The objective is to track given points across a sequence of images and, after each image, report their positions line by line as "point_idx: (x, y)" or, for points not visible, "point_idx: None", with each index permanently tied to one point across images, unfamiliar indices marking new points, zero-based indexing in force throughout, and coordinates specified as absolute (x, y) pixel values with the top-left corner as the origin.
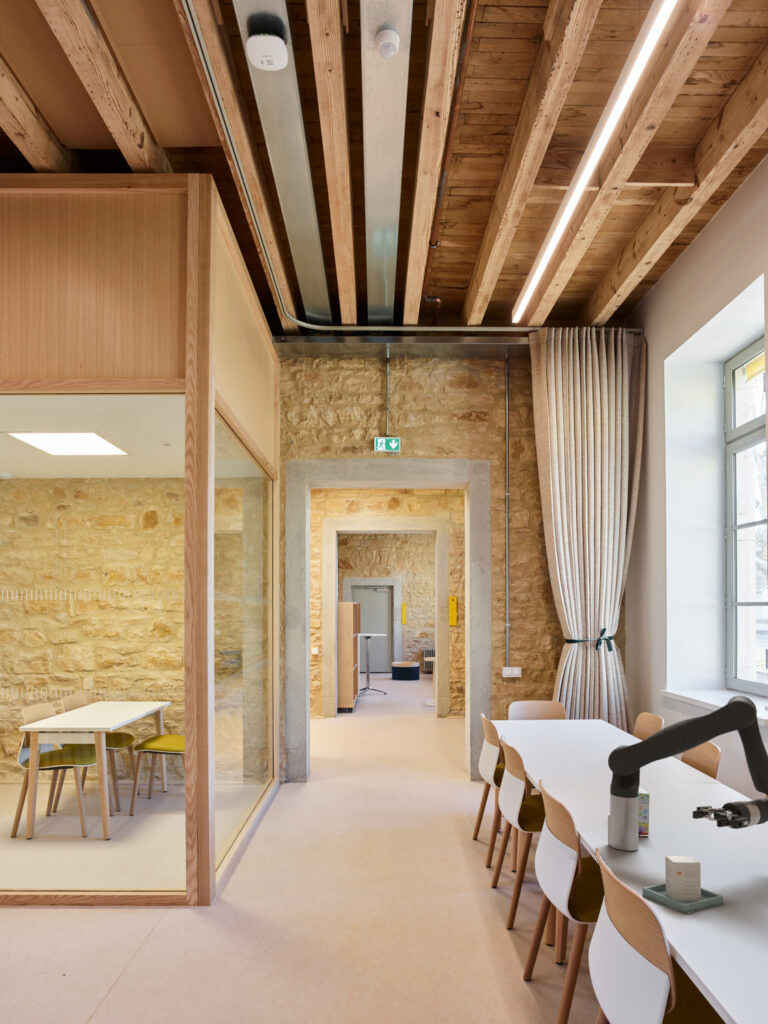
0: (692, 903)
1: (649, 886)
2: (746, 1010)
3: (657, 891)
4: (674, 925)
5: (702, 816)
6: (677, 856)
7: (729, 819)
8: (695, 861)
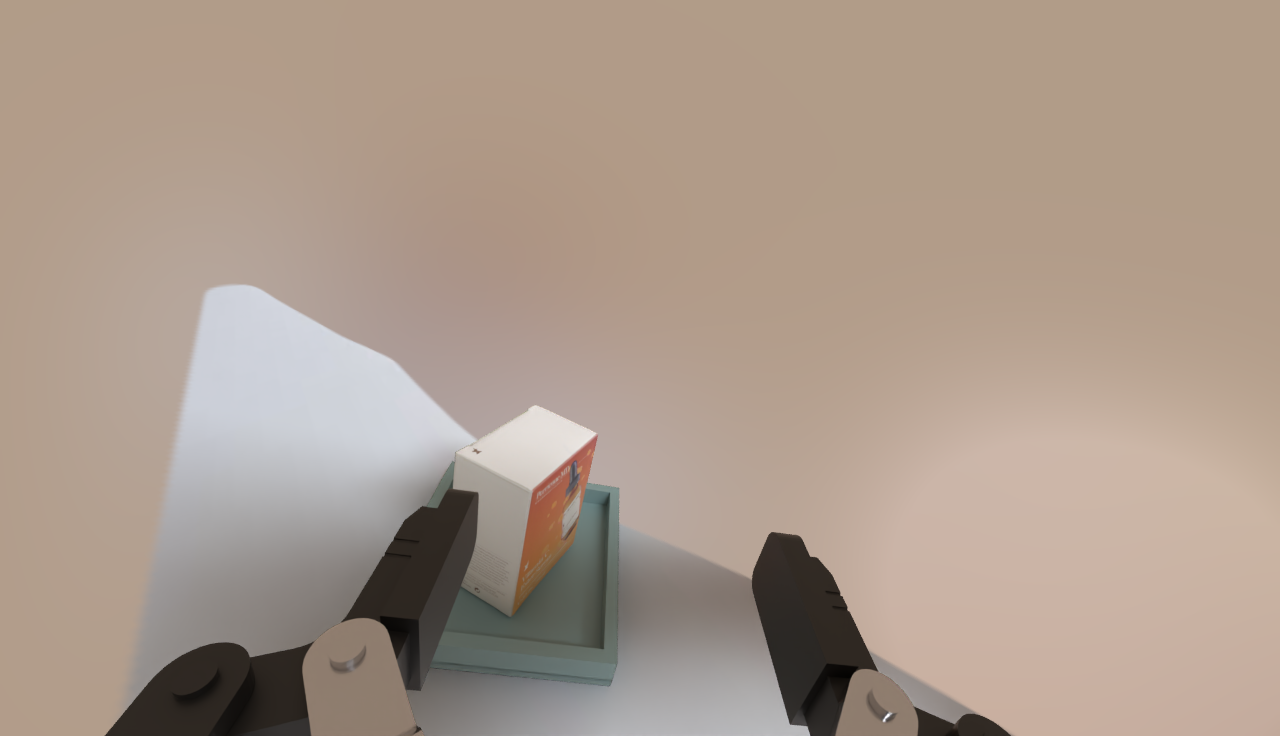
0: (441, 485)
1: (617, 507)
2: (229, 290)
3: (604, 542)
4: (442, 419)
5: (797, 710)
6: (565, 449)
7: (338, 632)
8: (477, 448)
